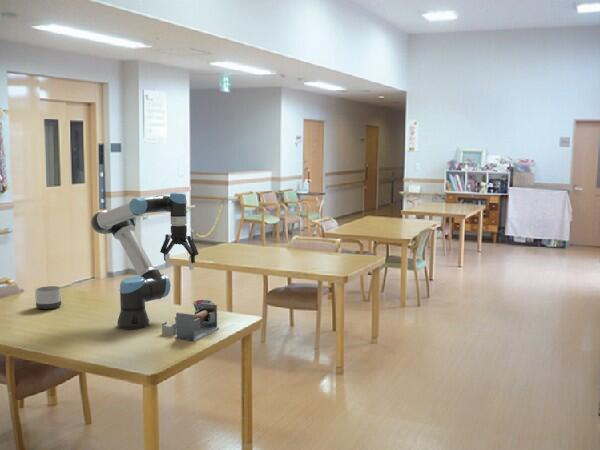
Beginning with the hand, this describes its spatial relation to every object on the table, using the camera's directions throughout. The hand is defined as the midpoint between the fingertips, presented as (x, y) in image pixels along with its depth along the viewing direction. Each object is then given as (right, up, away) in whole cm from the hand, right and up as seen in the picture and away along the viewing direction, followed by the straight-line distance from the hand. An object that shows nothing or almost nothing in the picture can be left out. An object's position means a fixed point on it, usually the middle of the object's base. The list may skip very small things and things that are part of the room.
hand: (179, 268), depth 304 cm
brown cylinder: (+10, -25, -9) cm, 28 cm away
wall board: (+10, -30, -8) cm, 33 cm away
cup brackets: (+10, -30, -8) cm, 33 cm away
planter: (-78, -24, +39) cm, 91 cm away
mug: (+11, -28, +11) cm, 32 cm away
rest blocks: (-1, -29, -4) cm, 30 cm away
